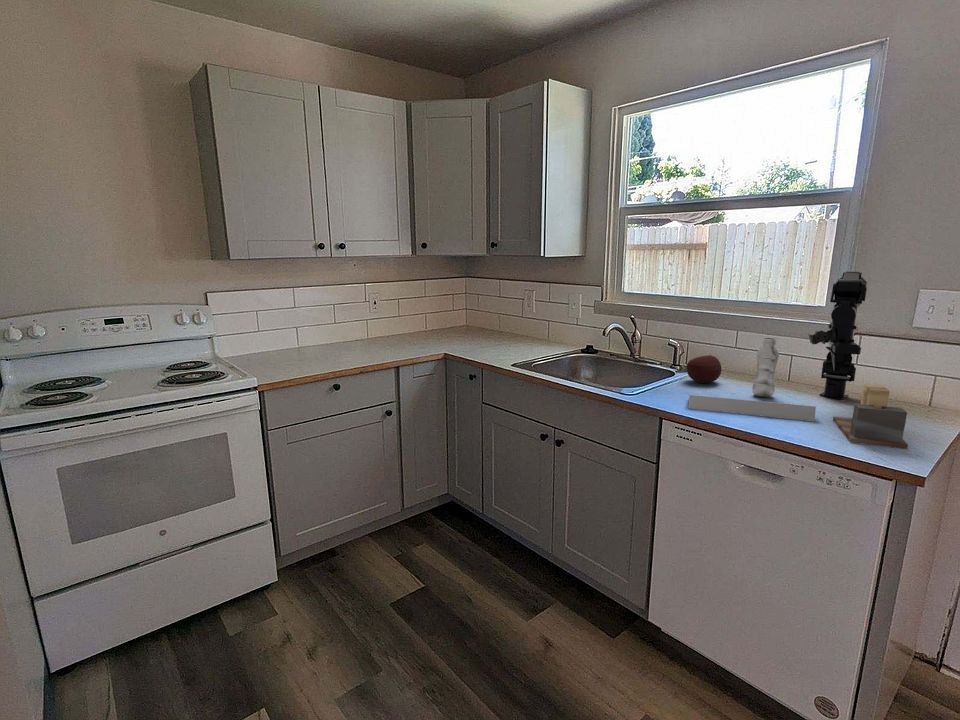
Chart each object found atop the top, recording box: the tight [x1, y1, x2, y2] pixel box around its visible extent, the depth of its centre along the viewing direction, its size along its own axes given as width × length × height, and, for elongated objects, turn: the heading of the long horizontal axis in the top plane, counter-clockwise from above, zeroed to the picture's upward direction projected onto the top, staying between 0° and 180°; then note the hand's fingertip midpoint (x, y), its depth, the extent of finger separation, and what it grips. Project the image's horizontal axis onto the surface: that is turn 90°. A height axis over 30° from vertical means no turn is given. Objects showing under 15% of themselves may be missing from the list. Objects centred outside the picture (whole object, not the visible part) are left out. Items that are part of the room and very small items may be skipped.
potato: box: [686, 355, 722, 384], centre depth 188 cm, size 11×13×10 cm
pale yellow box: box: [860, 383, 890, 408], centre depth 134 cm, size 8×4×12 cm, turn 157°
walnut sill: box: [832, 403, 909, 450], centre depth 136 cm, size 18×12×9 cm, turn 157°
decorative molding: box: [688, 394, 817, 422], centre depth 158 cm, size 34×5×10 cm
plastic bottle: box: [751, 337, 780, 398], centre depth 169 cm, size 6×7×20 cm
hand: (836, 371), depth 156 cm, fingers closed
